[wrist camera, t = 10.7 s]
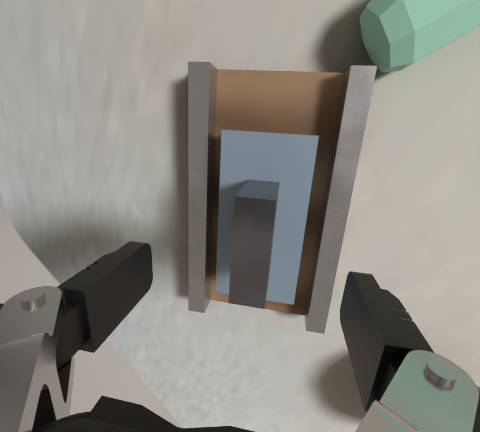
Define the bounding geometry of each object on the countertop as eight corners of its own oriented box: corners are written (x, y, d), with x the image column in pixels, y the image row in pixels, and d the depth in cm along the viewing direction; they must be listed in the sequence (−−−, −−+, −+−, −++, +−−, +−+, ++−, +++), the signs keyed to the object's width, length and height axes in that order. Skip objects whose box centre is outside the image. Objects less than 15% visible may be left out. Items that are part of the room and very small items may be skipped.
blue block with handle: (234, 130, 20) (194, 127, 12) (312, 135, 19) (332, 135, 11) (226, 267, 24) (193, 340, 15) (292, 276, 23) (295, 359, 14)
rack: (196, 71, 20) (181, 61, 17) (370, 76, 18) (386, 65, 15) (194, 290, 26) (183, 309, 24) (325, 311, 24) (330, 334, 22)
